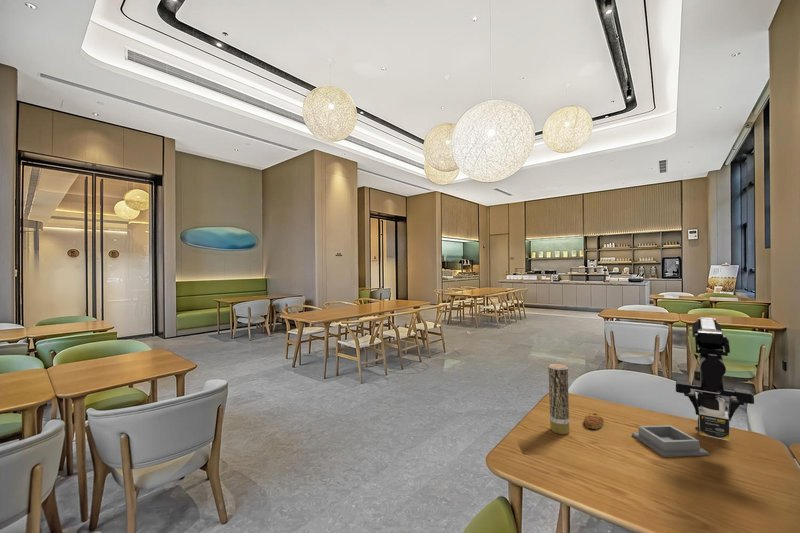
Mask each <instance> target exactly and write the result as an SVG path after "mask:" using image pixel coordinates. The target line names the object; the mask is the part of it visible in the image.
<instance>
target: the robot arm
mask: <svg viewBox="0 0 800 533" xmlns="http://www.w3.org/2000/svg"><path fill="white" fill-rule="evenodd" d="M716 319H717V318H713V317H698V318H697V321H695V322H693V323H692V324H691V332H692V333H691V334H692V336H691V337H692V338H694V342H695V343H694V345H695V353H696V354H699V357H698V358H699V371H698V370H697V371H696V370H694V372H693V373H694V375H693V376H694V378H693V379H694V381H696V382H699V385H700V386H698V385H693V384H691V381H685V380H680V379H679V380H678V379H677V380H676V381H675V393H678V394H683V395H684V396H685V397H687V398H688V399H689V401H690V402H691V404H692V406H693V408H694V410H695V411H694V412H695V415H697V416H698V417H697V426H694V429H696V430H698V431H700V428H699V407H701V399H700V397H701V396H703V395H713V396H717V397H720V398H722V396H724V397H729V398H728V399H729V401H728V406H727V405H726V404H725V407H726V411H727V413H728V417H729V422H731V421H732V418H733V416H734V414H735V413H736V411H737V409H738V408H739V407H740V406H745V404H749V405H754V404H755V397H754V394H753V392H752V391H751V390H749V389H743V388H735V387H734V389H733V390H727V389H725V381H724V375H725V374H726V372H727V369H726V365H725V363H724V356H726V357H729V354H730V353H731V350H730V349H731V348H730V341H729V338H727V335H724V333H723V331H722V325H721V324H720V323H718V322H717V320H716ZM696 393H697V394H696Z"/></svg>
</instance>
